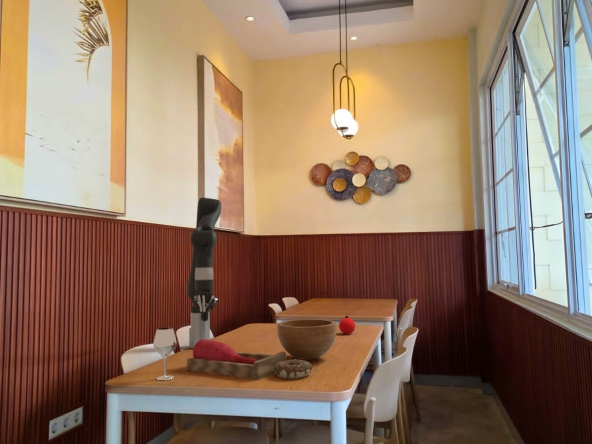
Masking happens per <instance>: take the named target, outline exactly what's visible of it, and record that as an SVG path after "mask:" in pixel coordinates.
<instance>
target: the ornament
mask: <svg viewBox="0 0 592 444" xmlns="http://www.w3.org/2000/svg"><path fill="white" fill-rule="evenodd" d="M338 329H339V331H340V332H341V333H342V334H345V335H350V334H352V333H354V331H355V329H356V323H355V321H354V319H352V318H350V317H349V316H348V315H345V316H344V318H342V319H341V320H340V321H339V324H338Z"/></svg>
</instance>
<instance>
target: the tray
mask: <svg viewBox="0 0 592 444" xmlns="http://www.w3.org/2000/svg"><path fill="white" fill-rule="evenodd" d="M235 352H236V353H237V354H238V355H240V356H242V357H245V358H252V359H256V360H257V361H255V362H254V365H252V364H243V363H233V362H224V361H215V360H206V359H197V358H193V357H188V358H186V371H187V370H191V371H190V372H195V371H199V372H198V373H202V372H207V373H206V374H210V373H214V374H213V375H218V374H222V375H221V376H226V375H229V376H228V377H234V376H235V377H236V378H243V379H250V380H258V381H259V380H261V379H264V378H266V377H269V376H271V375H273V374H274V375H275V373H274V368H275V365H276V364H277V363H279V362H281V361H286V360H287V351H280V352H277V353H276V354H265V353H255V352H245V351H243V352H242V351H235Z"/></svg>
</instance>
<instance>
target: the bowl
mask: <svg viewBox="0 0 592 444" xmlns="http://www.w3.org/2000/svg"><path fill="white" fill-rule="evenodd" d="M277 336H278V337H277V338H278V339H279V343H280V345H281V346H282V349H284V351H285V352H286V353H287V354H289V355H291V356H292V357H294V358H295V359H297V360H303V361H310V360H316V359H319V358H321V357H322V356H323V355H325V354H326V353H328V351H329V350H330V349H331V348H332V346H333V345H334V343H335V340H336V336H337V324H336V321H334V320H329V319H317V318H306V319H304V318H303V319H291V320H290V319H289V320H285V321H280V322H278V324H277Z"/></svg>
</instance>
